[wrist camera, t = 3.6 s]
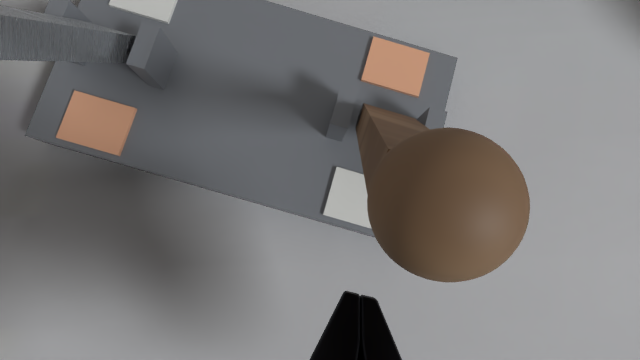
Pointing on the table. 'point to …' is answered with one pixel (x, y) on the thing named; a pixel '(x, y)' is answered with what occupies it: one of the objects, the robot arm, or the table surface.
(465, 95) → the table surface
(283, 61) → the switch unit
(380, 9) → the table surface
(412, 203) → the walnut lever
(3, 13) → the steel lever
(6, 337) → the table surface
